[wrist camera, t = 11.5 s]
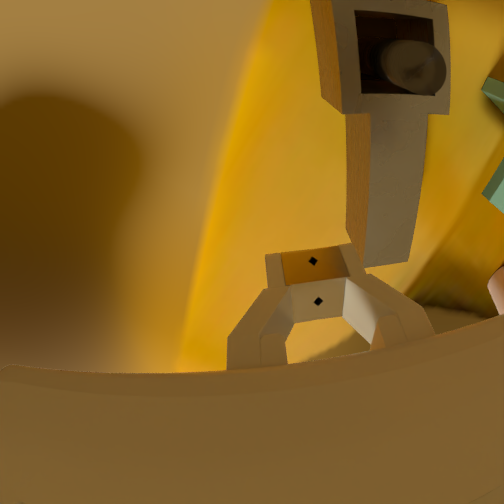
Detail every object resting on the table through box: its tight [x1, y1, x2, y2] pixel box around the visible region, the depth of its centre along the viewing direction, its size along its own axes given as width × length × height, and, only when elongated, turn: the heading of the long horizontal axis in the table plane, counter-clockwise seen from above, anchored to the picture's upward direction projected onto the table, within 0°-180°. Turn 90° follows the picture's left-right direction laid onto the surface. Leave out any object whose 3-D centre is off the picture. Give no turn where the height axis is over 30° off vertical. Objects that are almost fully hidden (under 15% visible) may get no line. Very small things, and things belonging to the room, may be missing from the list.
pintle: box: [357, 37, 447, 96], centre depth 11 cm, size 2×2×6 cm
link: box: [310, 0, 450, 268], centre depth 14 cm, size 15×6×4 cm, turn 8°
